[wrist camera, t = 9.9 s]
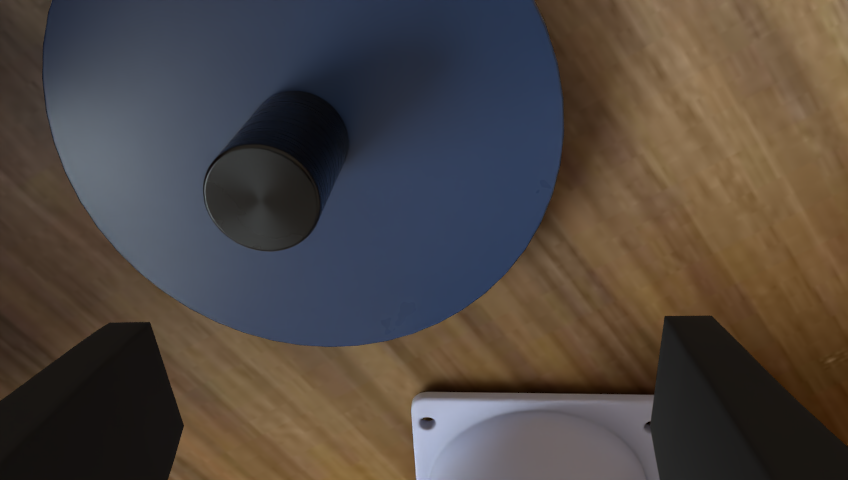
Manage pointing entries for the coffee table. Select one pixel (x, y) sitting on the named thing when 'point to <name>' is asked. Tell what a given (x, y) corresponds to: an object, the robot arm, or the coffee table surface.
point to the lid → (309, 152)
